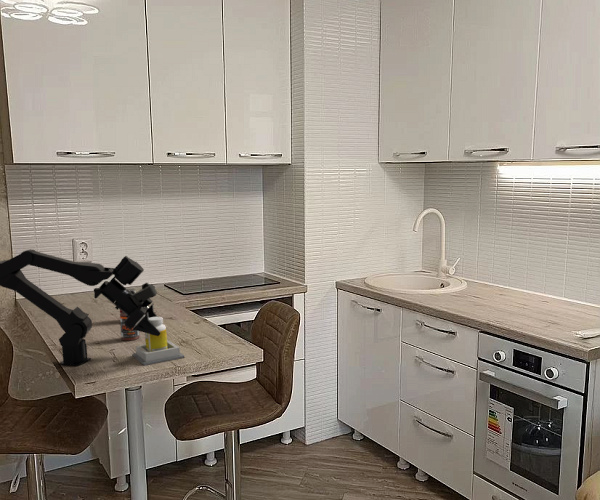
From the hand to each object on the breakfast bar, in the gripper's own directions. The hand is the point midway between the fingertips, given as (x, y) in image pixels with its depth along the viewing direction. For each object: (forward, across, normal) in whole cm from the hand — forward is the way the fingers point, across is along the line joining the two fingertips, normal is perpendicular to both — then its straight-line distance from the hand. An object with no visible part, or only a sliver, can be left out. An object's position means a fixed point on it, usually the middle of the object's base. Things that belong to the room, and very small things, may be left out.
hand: (161, 330), depth 172 cm
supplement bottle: (-4, +23, +15) cm, 28 cm away
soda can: (-6, +49, +18) cm, 53 cm away
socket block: (+4, 0, +6) cm, 8 cm away
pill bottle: (+4, 0, +6) cm, 8 cm away
